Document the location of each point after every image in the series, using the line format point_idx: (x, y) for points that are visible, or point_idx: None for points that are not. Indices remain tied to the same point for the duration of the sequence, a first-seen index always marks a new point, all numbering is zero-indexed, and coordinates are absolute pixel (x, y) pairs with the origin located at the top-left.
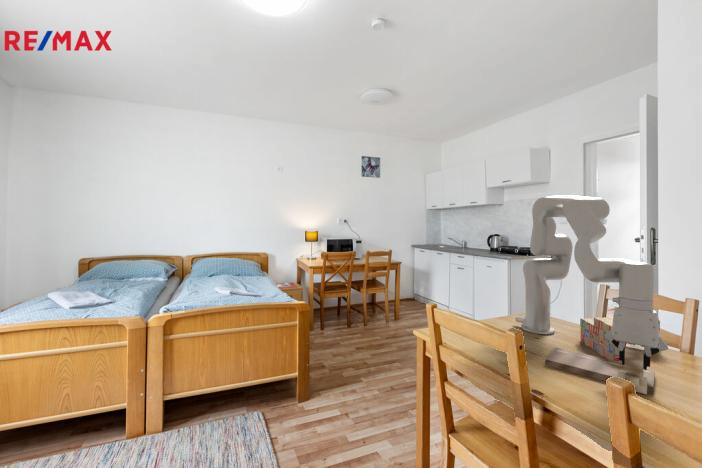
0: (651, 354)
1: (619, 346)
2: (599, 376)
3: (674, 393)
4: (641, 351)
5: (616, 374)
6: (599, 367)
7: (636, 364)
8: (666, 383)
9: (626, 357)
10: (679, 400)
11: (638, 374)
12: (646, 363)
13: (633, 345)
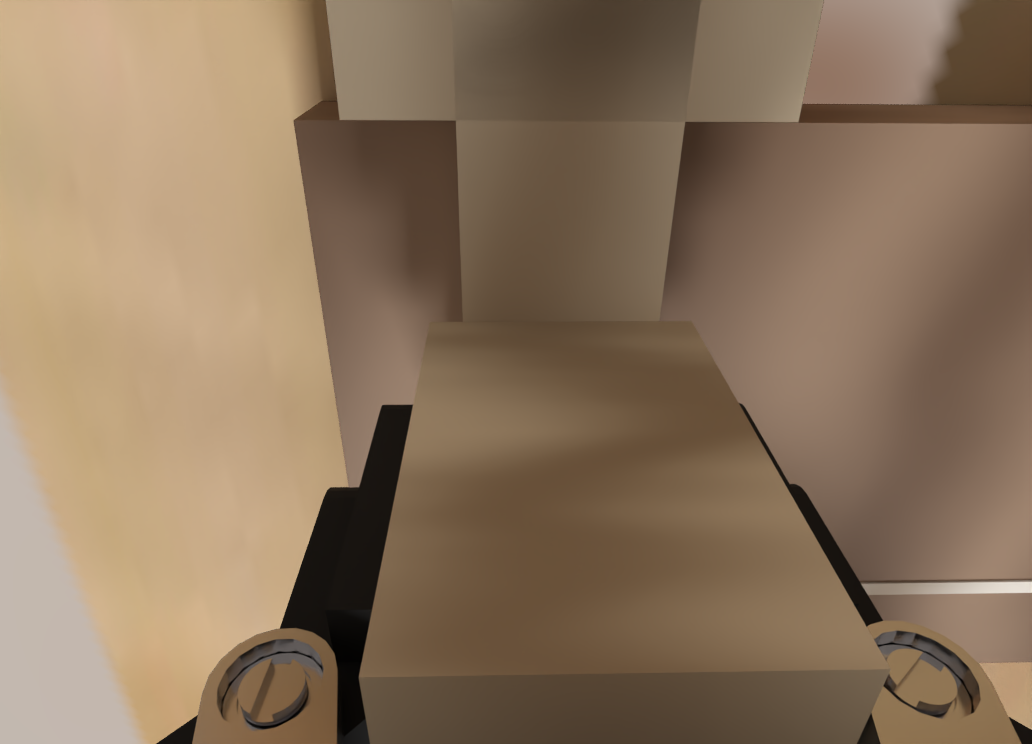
0: (205, 713)
1: (990, 741)
2: (968, 112)
3: (163, 321)
4: (416, 699)
5: (757, 257)
6: (946, 367)
7: (527, 391)
8: (282, 526)
9: (734, 457)
10: (61, 132)
11: (483, 184)
12: (362, 483)
13: None
